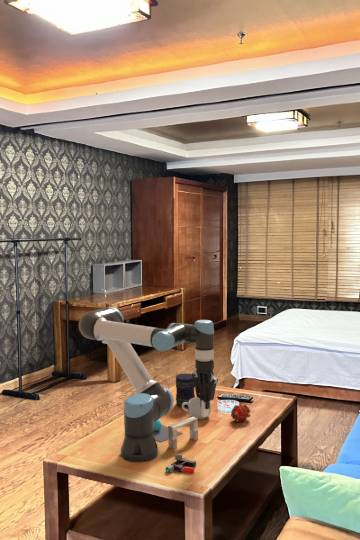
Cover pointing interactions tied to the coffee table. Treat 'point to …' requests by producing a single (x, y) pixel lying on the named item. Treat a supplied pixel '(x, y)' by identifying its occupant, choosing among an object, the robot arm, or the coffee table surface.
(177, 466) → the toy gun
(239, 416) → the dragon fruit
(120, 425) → the coffee table surface
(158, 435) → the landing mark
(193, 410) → the teacup
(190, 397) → the storage jar
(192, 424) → the bridge
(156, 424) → the ball
